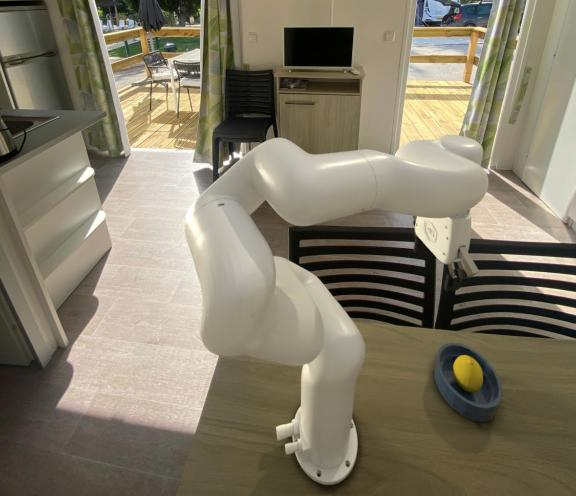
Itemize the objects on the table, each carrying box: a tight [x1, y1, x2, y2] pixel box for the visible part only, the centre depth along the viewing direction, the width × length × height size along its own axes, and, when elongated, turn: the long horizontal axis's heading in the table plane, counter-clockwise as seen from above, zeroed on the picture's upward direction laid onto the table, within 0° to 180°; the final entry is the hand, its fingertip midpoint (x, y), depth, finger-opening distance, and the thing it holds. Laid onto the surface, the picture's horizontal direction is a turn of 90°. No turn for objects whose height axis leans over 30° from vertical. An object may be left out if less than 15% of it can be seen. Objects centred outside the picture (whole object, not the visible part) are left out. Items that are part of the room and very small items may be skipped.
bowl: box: [433, 342, 503, 423], centre depth 65 cm, size 12×12×5 cm
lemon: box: [453, 355, 483, 393], centre depth 64 cm, size 6×6×8 cm
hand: (434, 268), depth 62 cm, fingers open, 9 cm apart
